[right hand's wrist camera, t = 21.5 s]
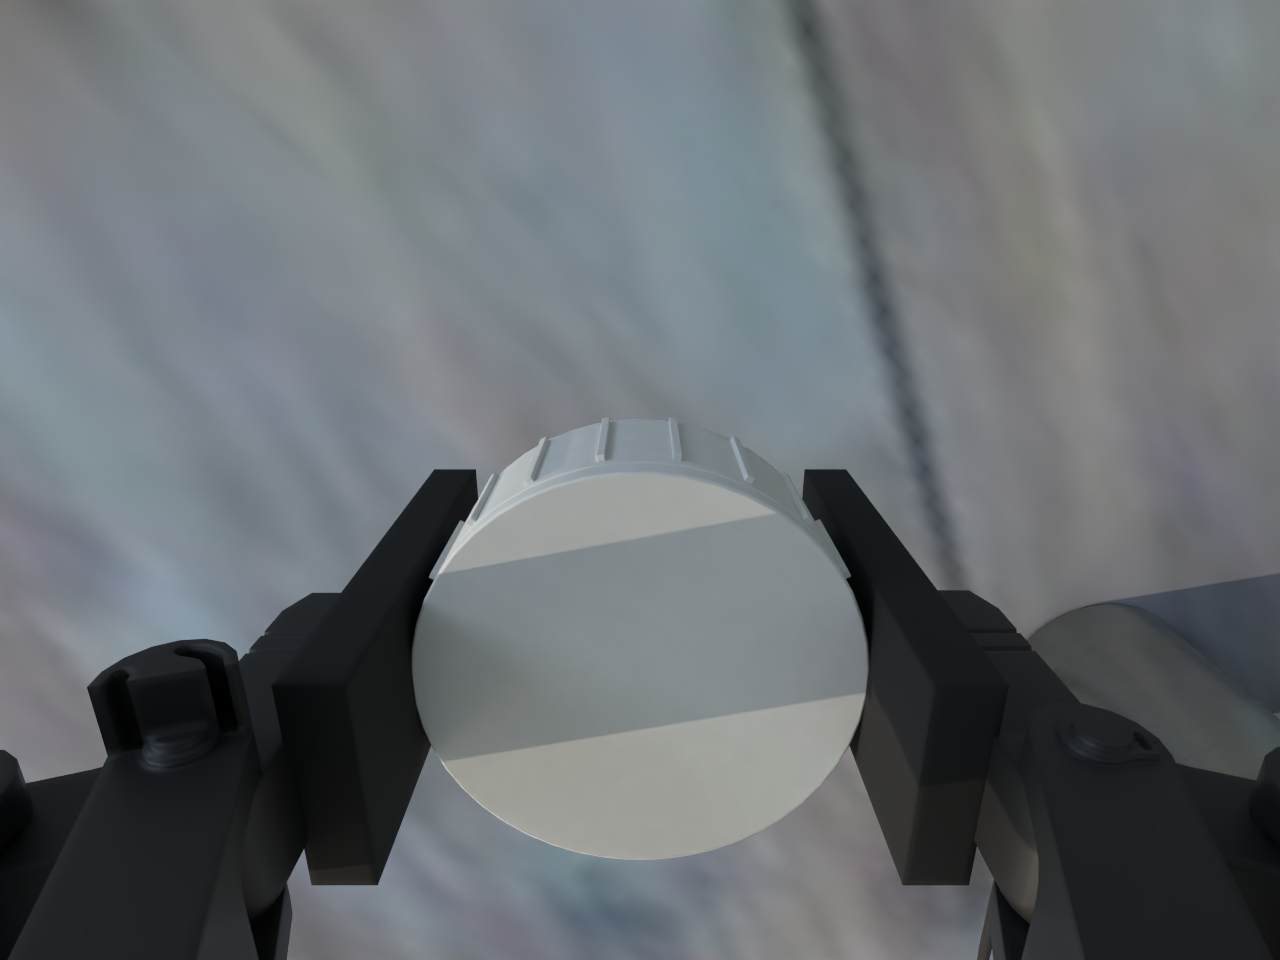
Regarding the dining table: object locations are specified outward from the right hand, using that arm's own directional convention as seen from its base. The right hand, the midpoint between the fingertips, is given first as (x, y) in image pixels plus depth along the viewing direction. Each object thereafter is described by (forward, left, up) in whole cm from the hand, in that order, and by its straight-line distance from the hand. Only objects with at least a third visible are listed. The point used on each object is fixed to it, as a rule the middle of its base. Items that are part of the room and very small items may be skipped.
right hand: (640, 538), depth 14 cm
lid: (0, 0, +4) cm, 4 cm away
